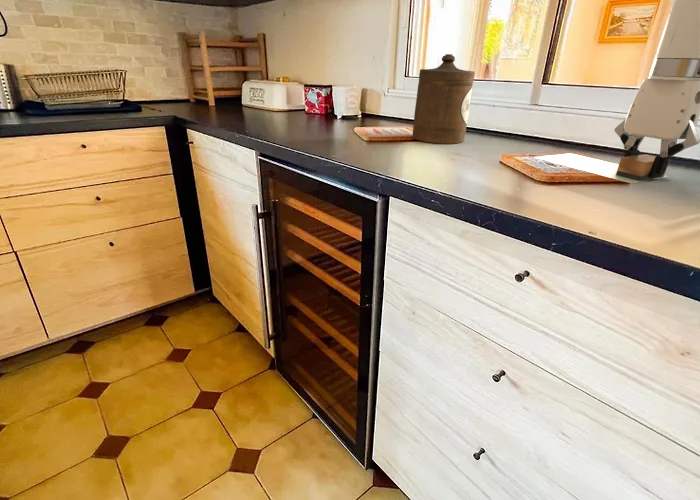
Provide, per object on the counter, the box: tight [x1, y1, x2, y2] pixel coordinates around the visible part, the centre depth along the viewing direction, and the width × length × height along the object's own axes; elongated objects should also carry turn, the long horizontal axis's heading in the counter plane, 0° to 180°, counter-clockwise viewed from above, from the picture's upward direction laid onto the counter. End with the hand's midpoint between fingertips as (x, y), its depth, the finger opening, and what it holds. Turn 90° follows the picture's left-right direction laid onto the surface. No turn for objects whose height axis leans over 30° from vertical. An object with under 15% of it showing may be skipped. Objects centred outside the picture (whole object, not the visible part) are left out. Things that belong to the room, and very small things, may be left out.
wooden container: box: [411, 53, 476, 145], centre depth 110 cm, size 15×15×22 cm
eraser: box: [616, 153, 671, 182], centre depth 77 cm, size 4×8×4 cm, turn 116°
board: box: [532, 152, 670, 184], centre depth 84 cm, size 22×13×1 cm, turn 26°
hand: (640, 172), depth 77 cm, fingers closed on eraser, 4 cm apart
